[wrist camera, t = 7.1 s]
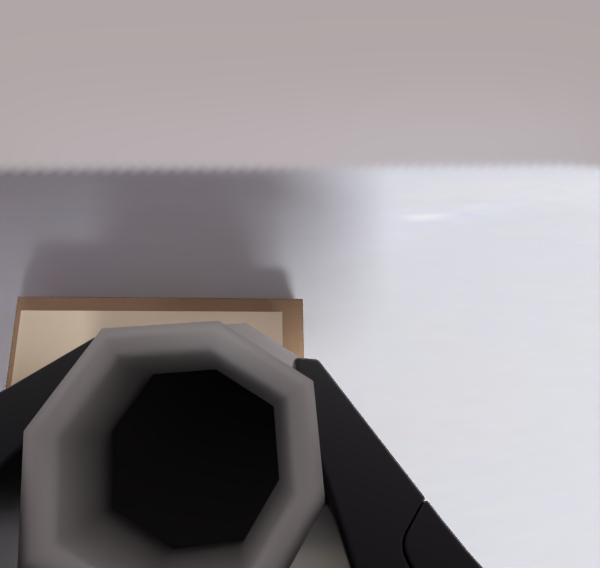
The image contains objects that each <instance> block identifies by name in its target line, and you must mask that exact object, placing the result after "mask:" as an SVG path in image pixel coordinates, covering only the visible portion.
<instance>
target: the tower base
mask: <svg viewBox="0 0 600 568" xmlns="http://www.w3.org/2000/svg"><path fill="white" fill-rule="evenodd" d="M207 321H220V322H221V323H223V324H224V325H227V324H242V323H246V324H248V325H250V326H251V327H253V328H254V329H256V330H257V331H259V332H261V333H262V334H264V335H265V336H267V337H269V338H270V339H272V340H273V341H275V342H276V343H278V344H280V345H281V346H283V347H284V348H286V349H287V350H289V351H291V352H292V353H294V354H295V355H297V356H299V357H300V358H304V340H303V299H238V298H116V297H18V301H17V309H16V316H15V323H14V331H13V338H12V346H11V353H10V360H9V368H8V375H7V383H6V388H8V387H10V386H12V385H13V384H15V383H17V382H19V381H20V380H22V379H24V378H25V377H27V376H29V375H31V374H32V373H34V372H36V371H37V370H39V369H41V368H43V367H44V366H46V365H48V364H49V363H51V362H53V361H55V360H56V359H58V358H60V357H61V356H63V355H65V354H67V353H68V352H70V351H72V350H73V349H75V348H77V347H79V346H80V345H82V344H84V343H86V342H87V341H89V340H91V339H92V338H95V337H96V336H97V334H98V333H99V332H100V330H101V329H102V328H117V327H132V326H147V325H162V324H177V323H192V322H207Z"/></svg>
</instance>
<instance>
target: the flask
mask: <svg viewBox="0 0 600 568" xmlns="http://www.w3.org/2000/svg"><path fill="white" fill-rule="evenodd" d="M296 358H300V357H299V356H297V355H295V354H294V353H292V352H291V351H289V350H287V349H286V348H284V347H283V346H281V345H280V344H278V343H276V342H275V341H273V340H272V339H270V338H269V337H267V336H265V335H264V334H262V333H261V332H259V331H257V330H256V329H254V328H253V327H251V326H250V325H248V324H246V323H242V324H227V325H224V324H223V323H221V322H220V321H207V322H192V323H177V324H162V325H147V326H132V327H117V328H102V329H101V330H100V332H99V333H98V334H97V336H96V337H95V338H94V340H93V341H92V342H91V343H90V345H89V346H88V347H87V349H86V350H85V351H84V353H83V354H82V355H81V357H80V358H79V359H78V360H77V362H76V363H75V364H74V366H73V367H72V368H71V370H70V371H69V372H68V374H67V375H66V376H65V377H64V379H63V380H62V381H61V383H60V384H59V385H58V387H57V388H56V389H55V391H54V392H53V393H52V394H51V396H50V397H49V398H48V400H47V401H46V402H45V404H44V405H43V406H42V408H41V409H40V410H39V411H38V413H37V414H36V415H35V417H34V418H33V419H32V421H31V422H30V423H29V425H28V426H27V427H26V429H25V430H24V435H23V456H22V478H21V499H20V520H19V541H18V563H17V568H290V566H291V564H292V563H293V561H294V559H295V557H296V555H297V553H298V552H299V550H300V548H301V546H302V544H303V542H304V540H305V539H306V537H307V535H308V533H309V531H310V529H311V528H312V526H313V524H314V522H315V520H316V518H317V516H318V515H319V513H320V511H321V509H322V507H323V505H324V504H325V493H324V483H323V473H322V463H321V453H320V443H319V433H318V423H317V413H316V403H315V393H314V383H313V380H311V379H309V378H308V377H306V376H305V375H303V374H302V373H300V372H298V371H297V370H295V369H294V368H292V366H293V362H294V360H295V359H296Z"/></svg>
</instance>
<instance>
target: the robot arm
mask: <svg viewBox="0 0 600 568" xmlns="http://www.w3.org/2000/svg"><path fill="white" fill-rule="evenodd" d="M93 340H94V338H92V339H91V340H89V341H87V342H86V343H84V344H82V345H80V346H79V347H77V348H75V349H73V350H72V351H70V352H68V353H67V354H65V355H63V356H61V357H60V358H58V359H56V360H55V361H53V362H51V363H49V364H48V365H46V366H44V367H43V368H41V369H39V370H37V371H36V372H34V373H32V374H31V375H29V376H27V377H25V378H24V379H22V380H20V381H19V382H17V383H15V384H13V385H12V386H10V387H8V388H6V389H5V390H3V391H1V392H0V568H17V563H18V541H19V520H20V499H21V478H22V456H23V435H24V430H25V429H26V427H27V426H28V425H29V423H30V422H31V421H32V419H33V418H34V417H35V415H36V414H37V413H38V411H39V410H40V409H41V408H42V406H43V405H44V404H45V402H46V401H47V400H48V398H49V397H50V396H51V394H52V393H53V392H54V391H55V389H56V388H57V387H58V385H59V384H60V383H61V381H62V380H63V379H64V377H65V376H66V375H67V374H68V372H69V371H70V370H71V368H72V367H73V366H74V364H75V363H76V362H77V360H78V359H79V358H80V357H81V355H82V354H83V353H84V351H85V350H86V349H87V347H88V346H89V345H90V343H91V342H92V341H93ZM292 368H294V369H295V370H297V371H298V372H300V373H302V374H303V375H305V376H306V377H308V378H309V379H311V380H313V383H314V393H315V403H316V413H317V423H318V433H319V443H320V453H321V463H322V473H323V483H324V493H325V504H324V505H323V507H322V509H321V511H320V513H319V515H318V516H317V518H316V520H315V522H314V524H313V526H312V528H311V529H310V531H309V533H308V535H307V537H306V539H305V540H304V542H303V544H302V546H301V548H300V550H299V552H298V553H297V555H296V557H295V559H294V561H293V563H292V564H291V566H290V568H482V566H481V565H480V564H479V563H478V562H477V561H476V560H475V559H474V558H473V556H472V555H471V554H470V553H469V552H468V551H467V550H466V548H465V547H464V546H463V545H462V543H461V542H460V541H459V540H458V539H457V537H456V536H455V535H454V534H453V532H452V531H451V530H450V529H449V527H448V526H447V525H446V524H445V523H444V521H443V520H442V519H441V518H440V516H439V515H438V514H437V512H436V511H435V510H434V508H433V507H432V506H431V505H430V503H429V502H428V501H424V500H425V498H424V496H423V495H422V493H421V492H420V491H419V489H418V488H417V487H416V486H415V484H414V483H413V482H412V480H411V479H410V478H409V476H408V475H407V474H406V473H405V471H404V470H403V469H402V467H401V466H400V465H399V464H398V462H397V461H396V460H395V458H394V457H393V456H392V454H391V453H390V452H389V451H388V449H387V448H386V447H385V445H384V444H383V443H382V442H381V440H380V439H379V438H378V436H377V435H376V434H375V432H374V431H373V430H372V429H371V427H370V426H369V425H368V423H367V422H366V421H365V420H364V418H363V417H362V416H361V414H360V413H359V412H358V411H357V409H356V408H355V407H354V405H353V404H352V403H351V401H350V400H349V399H348V398H347V396H346V395H345V394H344V392H343V391H342V390H341V389H340V387H339V386H338V385H337V383H336V382H335V381H334V379H333V378H332V377H331V376H330V374H329V373H328V372H327V370H326V369H325V368H324V367H323V365H322V364H321V363H320V362H319V361H318V360H316V359H307V358H296V359H295V360H294V362H293V366H292Z"/></svg>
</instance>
